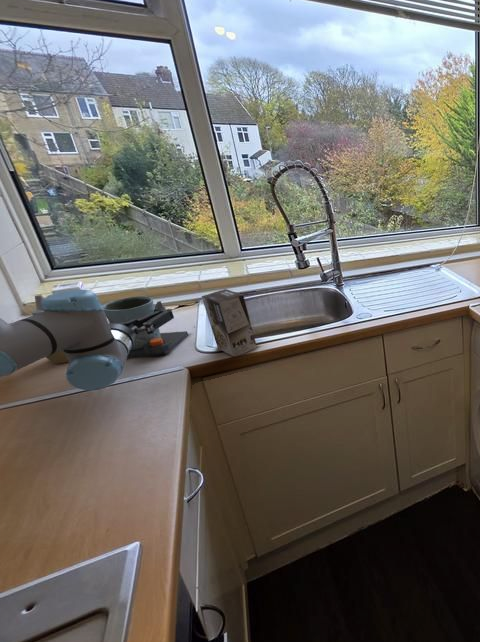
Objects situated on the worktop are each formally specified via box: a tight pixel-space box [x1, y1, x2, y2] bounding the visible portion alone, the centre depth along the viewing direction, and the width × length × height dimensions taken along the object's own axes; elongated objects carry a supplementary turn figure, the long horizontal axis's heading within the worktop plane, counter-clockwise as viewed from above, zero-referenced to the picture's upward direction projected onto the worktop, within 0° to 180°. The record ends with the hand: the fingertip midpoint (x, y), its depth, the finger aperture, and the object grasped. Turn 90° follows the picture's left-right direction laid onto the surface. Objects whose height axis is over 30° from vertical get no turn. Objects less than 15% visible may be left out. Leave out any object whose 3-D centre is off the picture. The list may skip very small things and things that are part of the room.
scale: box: [127, 330, 189, 359], centre depth 112 cm, size 15×13×3 cm
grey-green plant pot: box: [102, 295, 161, 350], centre depth 111 cm, size 10×10×12 cm
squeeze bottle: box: [30, 294, 69, 364], centre depth 104 cm, size 8×8×18 cm
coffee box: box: [201, 288, 257, 358], centre depth 111 cm, size 9×6×16 cm
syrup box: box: [51, 280, 86, 294], centre depth 119 cm, size 6×6×14 cm
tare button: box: [150, 338, 164, 347], centre depth 109 cm, size 3×3×2 cm
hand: (128, 311), depth 108 cm, fingers open, 13 cm apart
